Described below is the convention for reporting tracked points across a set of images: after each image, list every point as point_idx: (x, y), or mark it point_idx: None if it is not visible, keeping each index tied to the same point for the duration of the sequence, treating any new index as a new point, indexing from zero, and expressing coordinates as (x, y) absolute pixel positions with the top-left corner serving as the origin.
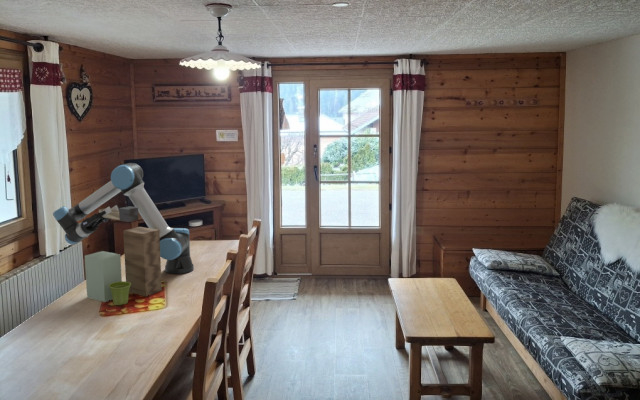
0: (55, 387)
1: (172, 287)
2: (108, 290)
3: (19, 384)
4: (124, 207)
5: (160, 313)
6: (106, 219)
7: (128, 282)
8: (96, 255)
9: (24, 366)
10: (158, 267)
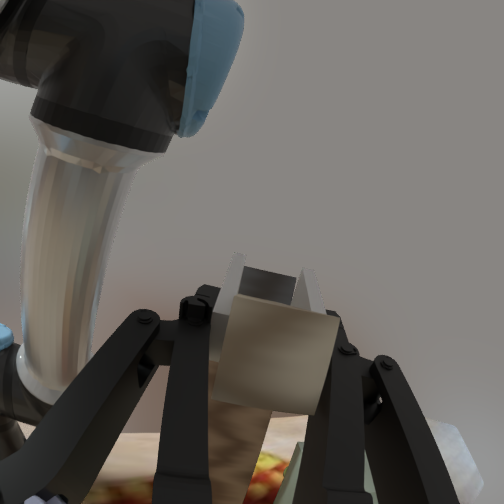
0: (426, 421)
1: (145, 468)
2: None
3: (449, 429)
4: (266, 271)
5: (280, 447)
6: (96, 470)
7: (285, 473)
8: (367, 472)
9: (451, 442)
10: None
